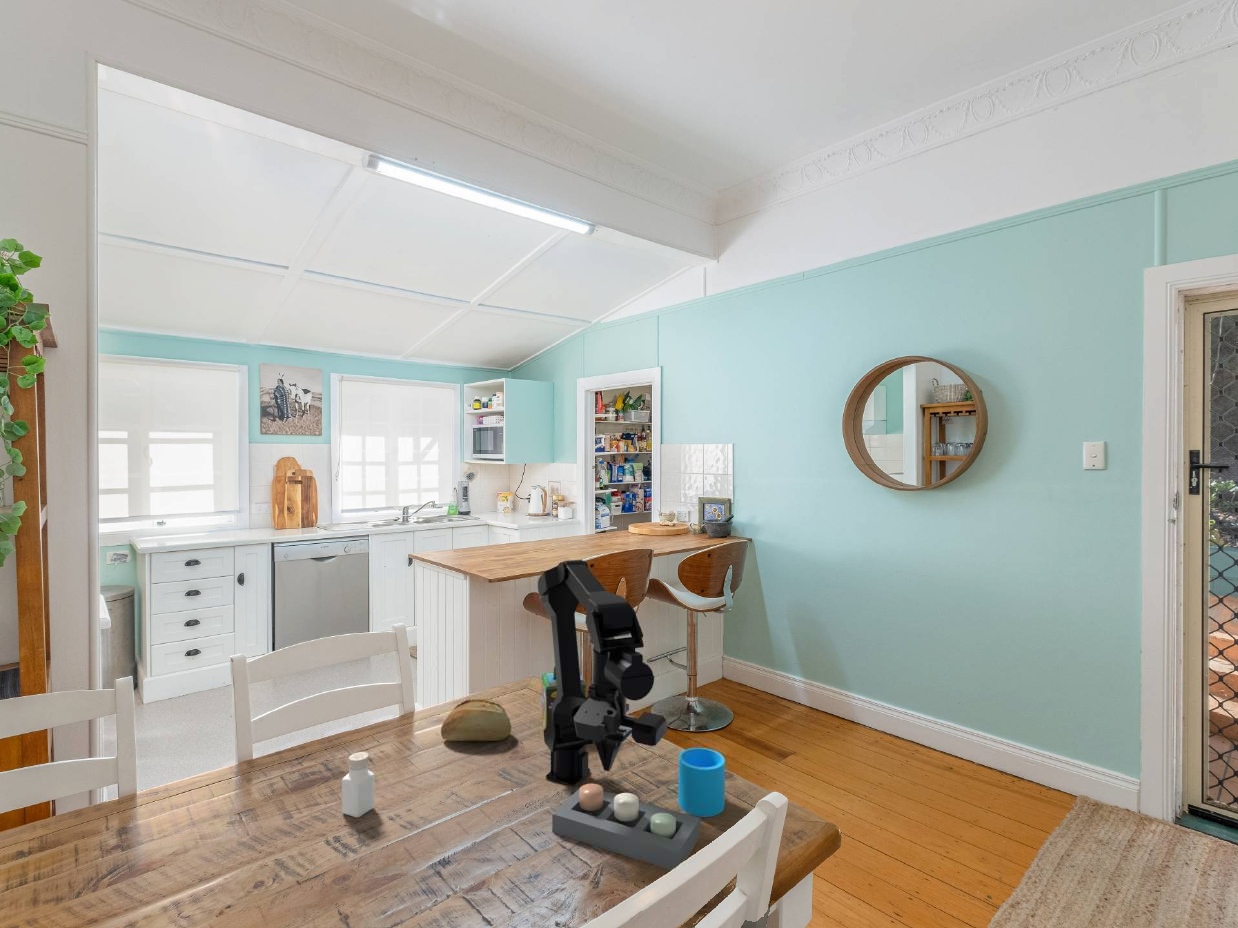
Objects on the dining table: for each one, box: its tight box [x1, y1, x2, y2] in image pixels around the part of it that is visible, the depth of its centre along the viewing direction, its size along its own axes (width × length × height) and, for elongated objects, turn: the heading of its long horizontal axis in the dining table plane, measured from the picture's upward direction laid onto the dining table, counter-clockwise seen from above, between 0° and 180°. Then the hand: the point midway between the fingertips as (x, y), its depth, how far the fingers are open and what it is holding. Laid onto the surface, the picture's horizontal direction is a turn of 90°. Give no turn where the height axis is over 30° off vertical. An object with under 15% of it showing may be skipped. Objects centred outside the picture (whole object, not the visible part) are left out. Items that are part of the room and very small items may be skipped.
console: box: [551, 785, 701, 871], centre depth 102 cm, size 22×10×3 cm, turn 64°
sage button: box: [651, 813, 676, 839], centre depth 99 cm, size 4×4×2 cm
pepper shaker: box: [341, 751, 376, 818], centre depth 108 cm, size 4×4×10 cm
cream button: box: [614, 792, 640, 821], centre depth 102 cm, size 4×4×2 cm
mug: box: [677, 747, 726, 818], centre depth 114 cm, size 12×8×8 cm
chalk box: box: [541, 666, 587, 729], centre depth 142 cm, size 9×9×15 cm
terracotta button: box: [578, 783, 604, 811], centre depth 105 cm, size 4×4×2 cm
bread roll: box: [440, 698, 512, 742], centre depth 137 cm, size 10×15×8 cm, turn 100°
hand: (607, 770), depth 104 cm, fingers closed
